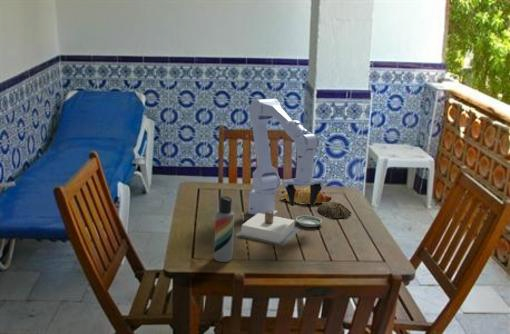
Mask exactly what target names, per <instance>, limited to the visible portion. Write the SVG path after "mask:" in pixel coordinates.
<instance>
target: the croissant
mask: <svg viewBox="0 0 510 334" xmlns="http://www.w3.org/2000/svg"><path fill="white" fill-rule="evenodd" d="M295 189H296V192H295V196H294V202H297V203H310V186H307V187H306V186H305V187H303V188H298V189H297V188H295ZM280 198H281V199H282V198H283V199H282V200H284V199H286V200H289V196H288V193H287V192H285V193H281V194H280ZM332 198H333V197H332V196H331V195H327V194H326V193H321V191H320V192H319V193H318V195H317V197H316V199H315V202H314V203H322V202H326V203H328V202H332ZM286 200H285V201H286ZM297 203H296V204H297Z"/></svg>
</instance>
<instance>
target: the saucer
mask: <svg viewBox="0 0 510 334" xmlns="http://www.w3.org/2000/svg"><path fill="white" fill-rule="evenodd" d="M295 221H296V222H297V223H298V224H299V225H300V226H302V227H306V228H315V227H319V226H320V225H322V223H323V219H322V218H320V217H318V216H314V215H308V214H307V215H306V214H305V215H299V216H296V218H295Z"/></svg>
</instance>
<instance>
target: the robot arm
mask: <svg viewBox="0 0 510 334" xmlns="http://www.w3.org/2000/svg"><path fill="white" fill-rule="evenodd" d="M281 105H282V103H281V102H280V101H278V99H277V98H276V97H275V98H274V97H272V98H261V99H258V98H255V99H253V100H252V101H251V103H250V105H249V108H248V109H249V114H250V116H249V117H250V122H251V128H252V133H253V134H252V135H253V142H254V150H255V157H256V164H257V167H256V169H255V170H254V171H253V172H252V181H251V183H252V188H253V189H251V190H250V193H249V197H248V211H247V214H251V215H254V216H255V215H256V214H257V213H261V214H265V212H266V211H273V212H274V215H276V214H277V213H278V210H275V202H276V200H275V199H276V192H277V191H278V189H279V188H280V186H281V178H280V176H279V172H278V169H277V168H275V166H273V165H272V157H271V151H270V143H269V135H268V129H267V125H268V123H269V121H271V120H272V119H275V120H276V121H277V122H279V124H281V125H282V126H283V127H284V132H285V133H286V135H288V137H290V138H291V140H292V141H294V146H295V149H296V156H297V158H296V159H297V160H296V169H295V171H296V172H295V178H290V179H288V178H287V179H283V182H282V185H283V186H284V188H285V190H286V193H288V196H289V201H288V202H289V205H290V206H291V207H294V205H295V203H294V196H295V192H296V189H297V188H295V186H309V187H310V204H311V205H310V206H314V205H315V204H314V202H315V199H316V197H317V195H318V193H319V192H320V193H321V191H322V188H323V186H324V182H325V179H323V178H313V174H314V173H313V171H314V164H315V163H314V161H315V150H316V149H317V148H318V147H319V144H320V140H319V137H318V136H317V134H316V133H315V132H311V131H309V130H308V129H306V128H305V127H304V126H303V125H302V124H301V122H300V121H299V120H295V119H293V120H292V118H291V117H290V116H289V115H288V114H287V112H286V111H285V110H284V109H283V108H282V106H281Z"/></svg>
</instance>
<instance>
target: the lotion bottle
mask: <svg viewBox="0 0 510 334" xmlns="http://www.w3.org/2000/svg"><path fill="white" fill-rule="evenodd" d="M232 201H233V199H232V198H231V197H230V196H227V195H225V196H223V195H221V196H220V197H219V199H218V210H217V211H216V212H215V215H214V216H215V219H214V221H215V222H214V223H215V224H214V245H213V246H214V247H213V248H214V249H213V250H214V251H213V258H214V260H215V261H217V262H220V263H226V262H231V261H232V259H233V248H234V229H235V212H234V211H232V206H233V203H232Z"/></svg>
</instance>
